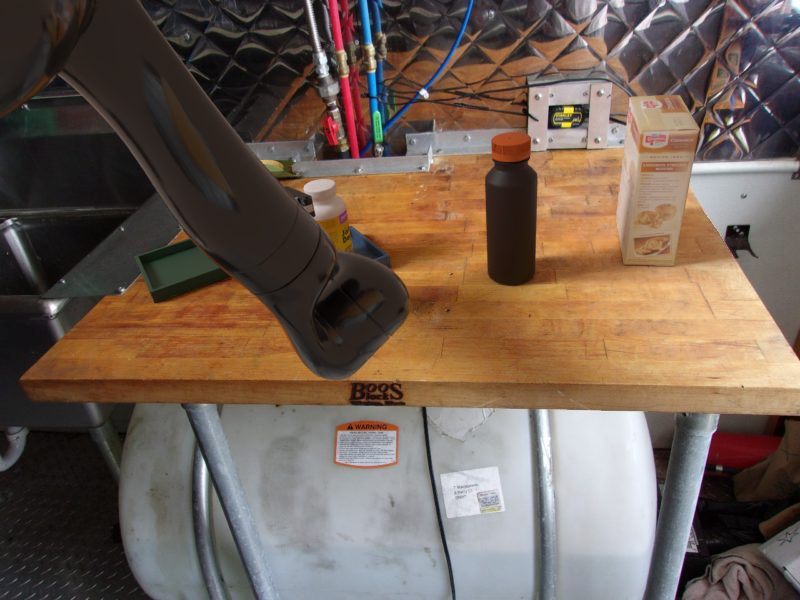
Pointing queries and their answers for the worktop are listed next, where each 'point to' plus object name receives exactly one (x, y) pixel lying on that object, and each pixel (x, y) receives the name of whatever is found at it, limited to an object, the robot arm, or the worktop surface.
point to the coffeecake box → (655, 178)
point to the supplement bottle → (330, 212)
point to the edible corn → (279, 167)
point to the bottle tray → (368, 248)
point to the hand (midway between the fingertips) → (234, 197)
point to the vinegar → (511, 210)
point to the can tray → (177, 269)
